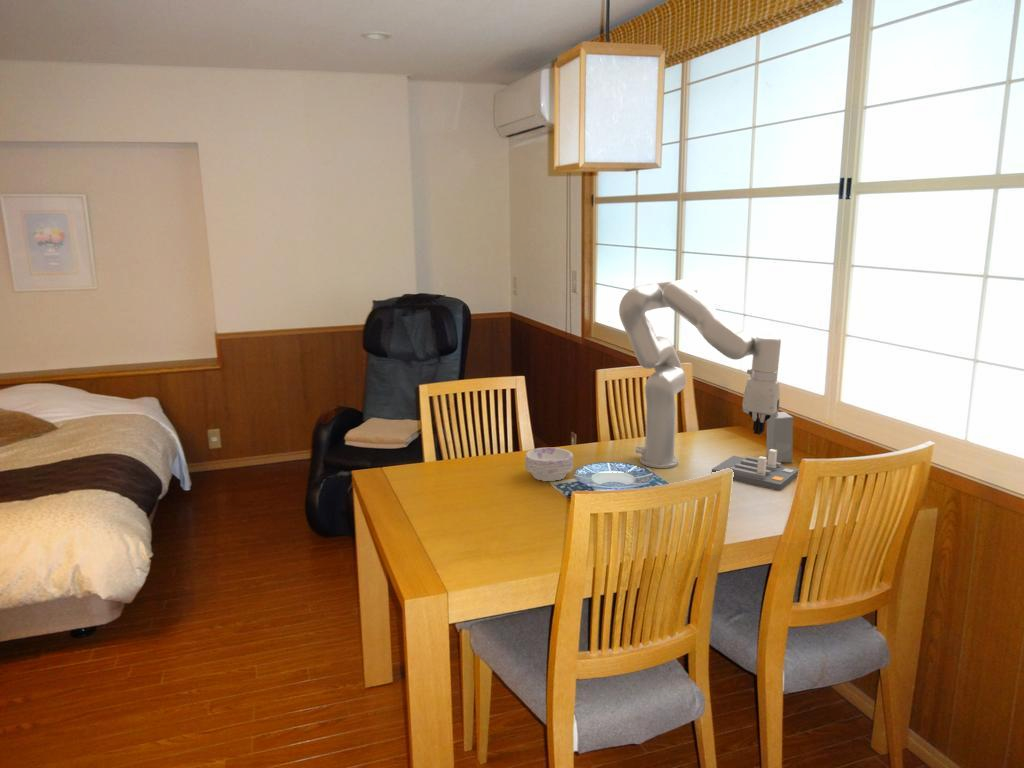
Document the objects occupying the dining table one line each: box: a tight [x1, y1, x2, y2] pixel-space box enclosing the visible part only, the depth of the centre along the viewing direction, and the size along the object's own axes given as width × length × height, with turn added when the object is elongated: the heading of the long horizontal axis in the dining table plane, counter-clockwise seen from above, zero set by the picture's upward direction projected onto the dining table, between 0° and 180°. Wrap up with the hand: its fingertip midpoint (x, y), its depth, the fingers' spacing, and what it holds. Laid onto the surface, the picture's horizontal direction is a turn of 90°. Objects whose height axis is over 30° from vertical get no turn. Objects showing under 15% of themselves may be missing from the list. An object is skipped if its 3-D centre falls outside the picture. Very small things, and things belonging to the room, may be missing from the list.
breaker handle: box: [767, 449, 777, 466], centre depth 237 cm, size 2×2×6 cm
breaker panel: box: [711, 455, 800, 492], centre depth 236 cm, size 22×17×3 cm
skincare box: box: [765, 411, 794, 463], centre depth 250 cm, size 8×7×16 cm
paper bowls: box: [524, 446, 574, 482], centre depth 236 cm, size 15×15×8 cm
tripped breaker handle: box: [757, 455, 768, 474], centre depth 230 cm, size 2×2×6 cm
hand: (758, 433), depth 229 cm, fingers closed
